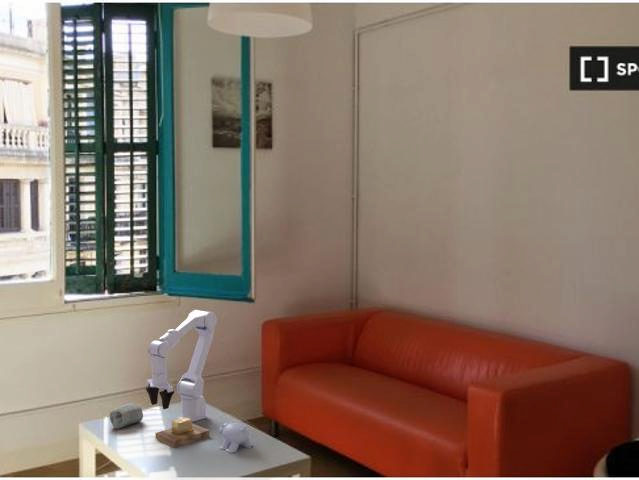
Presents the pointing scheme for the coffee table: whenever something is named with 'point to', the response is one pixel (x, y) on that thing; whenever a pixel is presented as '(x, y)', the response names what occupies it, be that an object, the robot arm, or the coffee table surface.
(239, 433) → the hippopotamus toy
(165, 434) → the slot board
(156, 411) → the coffee table surface
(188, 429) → the key peg
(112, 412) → the grey cylinder
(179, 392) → the robot arm
